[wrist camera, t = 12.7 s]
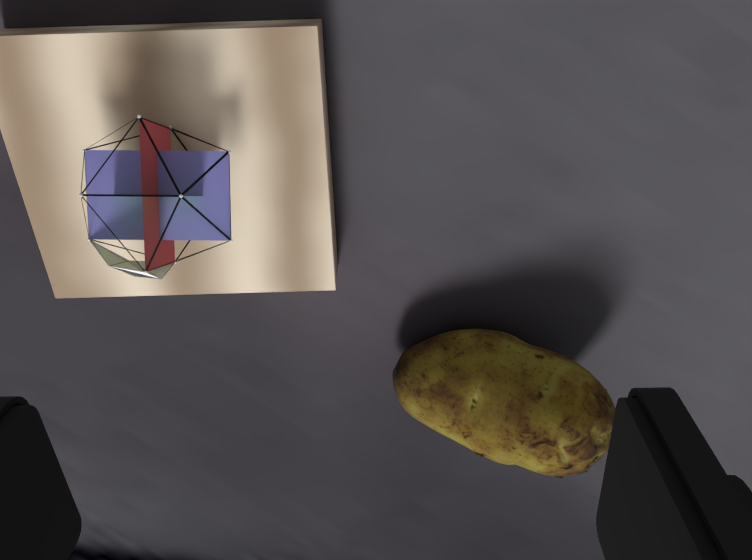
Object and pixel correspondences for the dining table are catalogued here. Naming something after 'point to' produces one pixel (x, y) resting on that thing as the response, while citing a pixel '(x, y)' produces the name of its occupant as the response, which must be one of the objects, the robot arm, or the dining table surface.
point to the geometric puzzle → (155, 198)
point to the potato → (507, 400)
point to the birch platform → (177, 145)
